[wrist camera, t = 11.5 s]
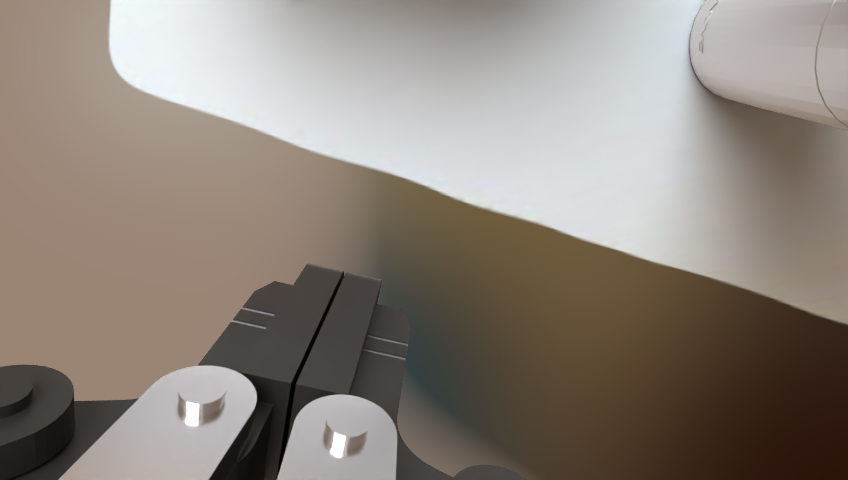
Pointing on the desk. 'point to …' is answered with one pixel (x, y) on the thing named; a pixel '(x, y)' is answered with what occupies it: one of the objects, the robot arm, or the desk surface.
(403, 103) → the desk surface
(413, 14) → the desk surface
